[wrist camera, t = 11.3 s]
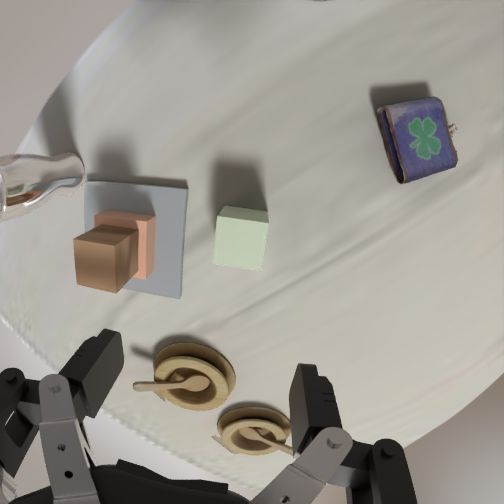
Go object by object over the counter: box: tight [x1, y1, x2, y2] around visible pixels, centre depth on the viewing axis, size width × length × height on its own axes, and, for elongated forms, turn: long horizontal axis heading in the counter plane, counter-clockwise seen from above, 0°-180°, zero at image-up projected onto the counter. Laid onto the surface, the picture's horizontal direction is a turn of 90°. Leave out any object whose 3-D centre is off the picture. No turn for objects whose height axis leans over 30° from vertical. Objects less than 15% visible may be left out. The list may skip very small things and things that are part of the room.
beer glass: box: [0, 152, 84, 223], centre depth 26 cm, size 7×7×15 cm
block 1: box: [73, 224, 139, 293], centre depth 29 cm, size 5×5×6 cm
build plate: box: [85, 180, 188, 299], centre depth 34 cm, size 14×14×4 cm
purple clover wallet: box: [377, 97, 458, 184], centre depth 28 cm, size 9×3×11 cm
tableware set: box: [133, 342, 293, 456], centre depth 42 cm, size 30×20×6 cm, turn 36°
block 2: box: [212, 206, 269, 271], centre depth 32 cm, size 5×5×6 cm
